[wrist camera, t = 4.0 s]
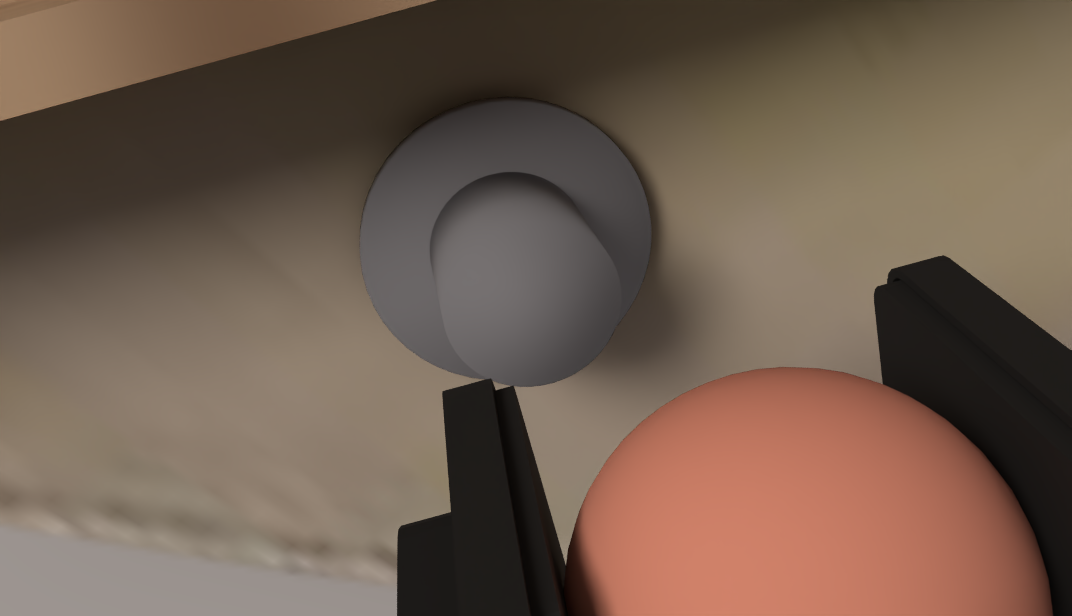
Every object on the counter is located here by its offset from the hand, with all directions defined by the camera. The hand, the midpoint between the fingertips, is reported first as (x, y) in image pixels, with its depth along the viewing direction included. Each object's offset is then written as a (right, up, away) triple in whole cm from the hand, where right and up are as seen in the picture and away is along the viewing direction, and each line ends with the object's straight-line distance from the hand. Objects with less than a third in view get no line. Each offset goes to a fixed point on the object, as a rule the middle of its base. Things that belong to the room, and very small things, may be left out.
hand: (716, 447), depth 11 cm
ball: (0, -1, -2) cm, 2 cm away
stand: (-2, +3, +7) cm, 8 cm away
